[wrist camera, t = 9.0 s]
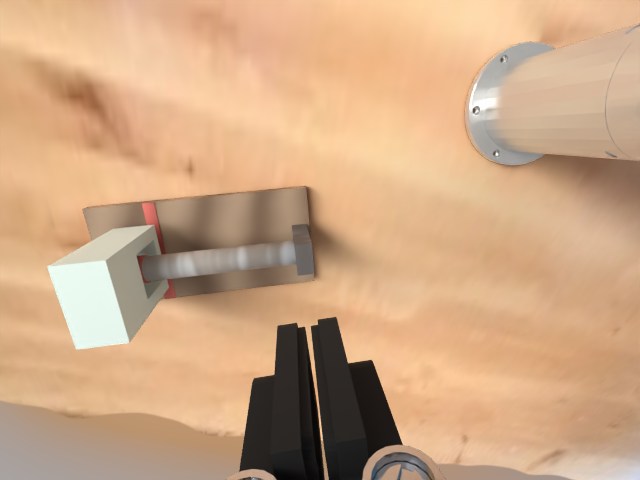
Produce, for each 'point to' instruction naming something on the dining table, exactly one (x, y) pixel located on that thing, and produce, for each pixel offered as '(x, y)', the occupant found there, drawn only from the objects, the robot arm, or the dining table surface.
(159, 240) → the rod stand
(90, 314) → the sleeve block
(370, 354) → the dining table surface
